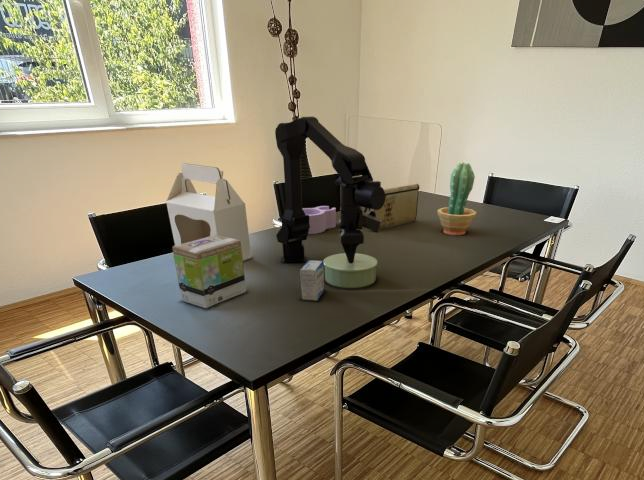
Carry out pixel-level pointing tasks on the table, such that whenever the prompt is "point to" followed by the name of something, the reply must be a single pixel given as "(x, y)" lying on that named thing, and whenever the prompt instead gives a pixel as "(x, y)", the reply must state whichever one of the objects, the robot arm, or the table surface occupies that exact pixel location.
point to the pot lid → (342, 263)
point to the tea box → (209, 270)
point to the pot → (350, 278)
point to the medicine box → (312, 280)
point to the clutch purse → (398, 206)
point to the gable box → (206, 209)
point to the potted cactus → (458, 201)
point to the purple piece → (320, 218)
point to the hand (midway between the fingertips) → (350, 260)
